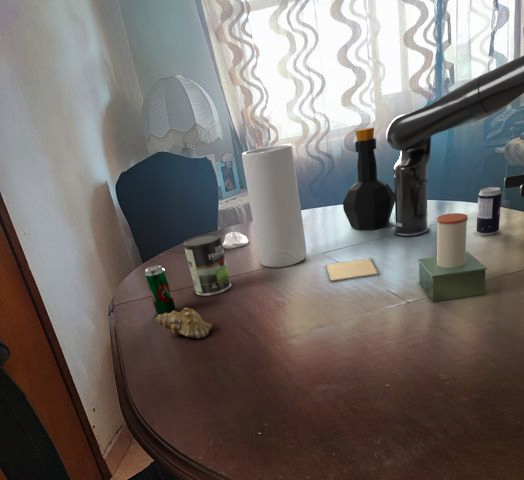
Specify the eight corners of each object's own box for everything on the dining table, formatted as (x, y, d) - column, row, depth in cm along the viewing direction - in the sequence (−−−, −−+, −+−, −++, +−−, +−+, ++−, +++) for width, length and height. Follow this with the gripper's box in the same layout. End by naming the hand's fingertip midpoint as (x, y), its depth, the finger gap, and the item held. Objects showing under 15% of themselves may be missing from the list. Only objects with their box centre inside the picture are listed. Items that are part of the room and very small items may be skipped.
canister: (432, 261, 103) (433, 216, 98) (460, 256, 102) (461, 211, 97) (441, 270, 98) (441, 223, 93) (469, 265, 97) (472, 218, 92)
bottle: (363, 217, 167) (357, 126, 153) (404, 219, 156) (402, 121, 141) (336, 230, 158) (327, 135, 144) (377, 233, 147) (372, 131, 132)
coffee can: (238, 282, 130) (228, 233, 123) (217, 297, 123) (204, 245, 116) (210, 280, 135) (198, 233, 129) (187, 294, 128) (174, 245, 121)
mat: (326, 266, 129) (326, 264, 129) (369, 259, 128) (369, 258, 128) (330, 281, 119) (330, 280, 118) (378, 274, 117) (378, 273, 117)
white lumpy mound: (231, 227, 168) (252, 228, 163) (234, 239, 171) (254, 240, 165) (213, 236, 162) (234, 237, 156) (216, 248, 164) (236, 249, 158)
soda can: (158, 310, 122) (144, 267, 116) (176, 306, 122) (164, 263, 116) (155, 317, 117) (141, 273, 112) (175, 314, 117) (162, 269, 112)
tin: (418, 283, 108) (418, 259, 105) (466, 276, 107) (467, 251, 104) (432, 302, 99) (432, 276, 96) (485, 294, 97) (487, 267, 95)
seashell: (181, 357, 103) (150, 324, 100) (184, 346, 111) (155, 315, 108) (213, 332, 102) (182, 297, 99) (214, 322, 109) (185, 290, 106)
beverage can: (500, 234, 127) (504, 190, 121) (478, 237, 129) (480, 192, 123) (496, 229, 132) (499, 185, 126) (474, 231, 133) (476, 188, 128)
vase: (313, 251, 142) (300, 141, 127) (297, 268, 131) (280, 150, 116) (271, 252, 149) (254, 147, 133) (252, 269, 138) (231, 156, 123)
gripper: (586, 147, 93) (500, 161, 96) (628, 156, 81) (528, 172, 83) (581, 186, 96) (498, 198, 99) (620, 200, 84) (524, 214, 87)
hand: (512, 186), depth 91 cm, fingers open, 8 cm apart
